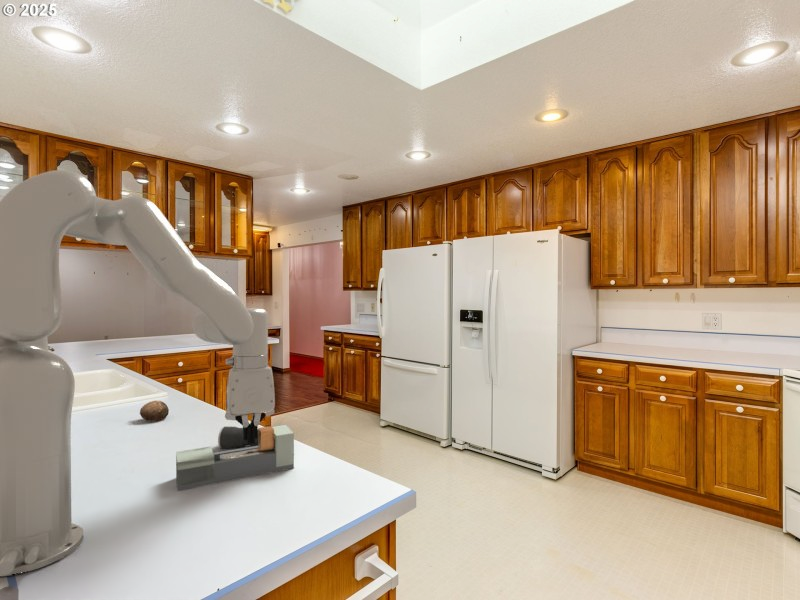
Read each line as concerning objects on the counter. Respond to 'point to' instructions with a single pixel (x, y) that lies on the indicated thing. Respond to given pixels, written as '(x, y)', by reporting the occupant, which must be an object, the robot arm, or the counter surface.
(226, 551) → the counter surface
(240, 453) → the hammer
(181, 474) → the toy lathe
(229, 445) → the flashlight
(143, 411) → the brown rounded lump
